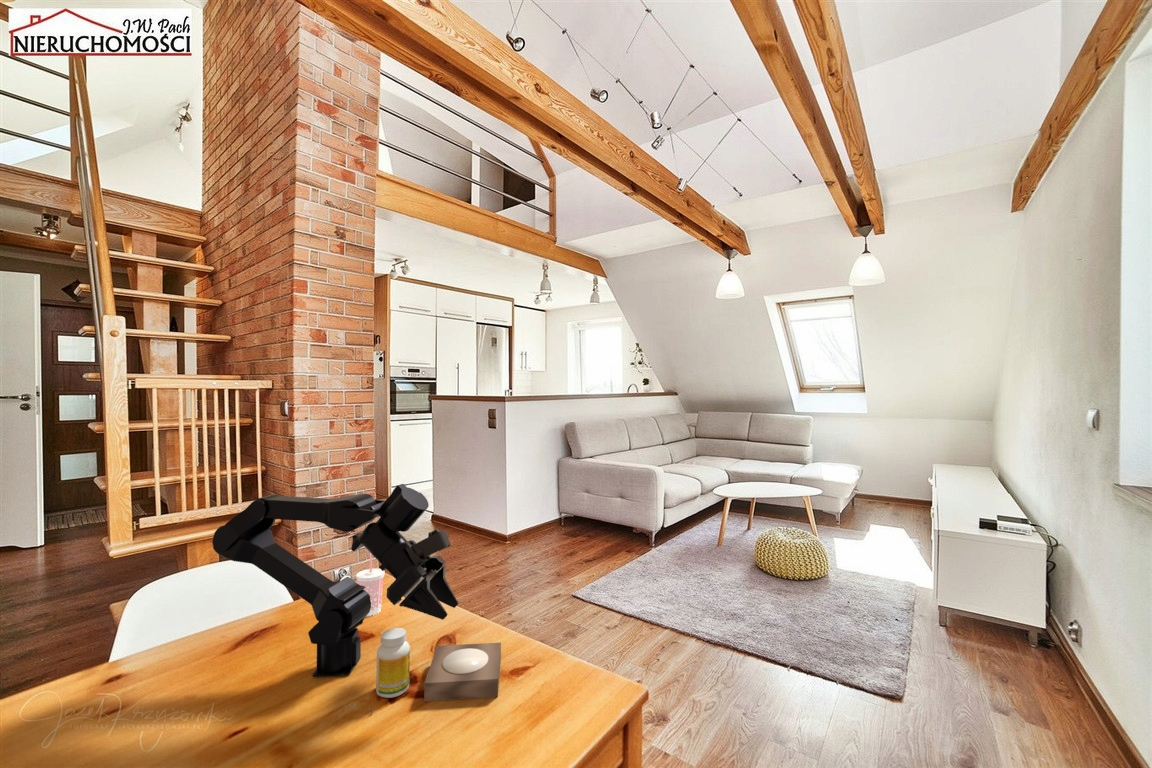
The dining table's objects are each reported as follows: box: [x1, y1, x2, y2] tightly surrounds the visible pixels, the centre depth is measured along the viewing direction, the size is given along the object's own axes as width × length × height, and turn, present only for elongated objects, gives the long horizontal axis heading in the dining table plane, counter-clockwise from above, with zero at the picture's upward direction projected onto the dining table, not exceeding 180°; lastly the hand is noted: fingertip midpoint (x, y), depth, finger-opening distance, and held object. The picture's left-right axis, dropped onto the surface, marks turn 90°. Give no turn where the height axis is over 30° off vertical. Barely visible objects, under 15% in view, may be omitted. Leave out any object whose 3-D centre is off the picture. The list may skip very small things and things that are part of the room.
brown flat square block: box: [423, 642, 502, 702], centre depth 87 cm, size 12×12×3 cm
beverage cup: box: [355, 552, 386, 617], centre depth 113 cm, size 6×6×14 cm
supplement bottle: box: [375, 627, 411, 699], centre depth 84 cm, size 5×5×10 cm
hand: (451, 611), depth 87 cm, fingers open, 9 cm apart
